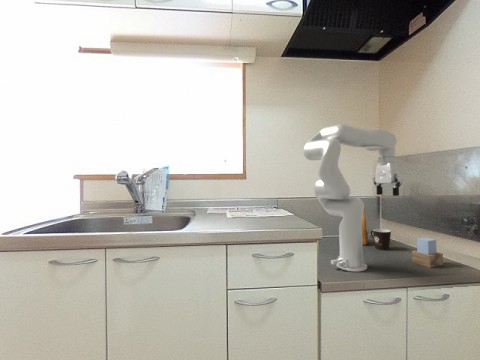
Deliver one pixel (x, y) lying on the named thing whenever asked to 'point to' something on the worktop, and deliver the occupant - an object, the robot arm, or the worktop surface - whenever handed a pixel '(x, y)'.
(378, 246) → the coffee mug
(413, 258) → the block
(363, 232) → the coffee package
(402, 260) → the worktop surface
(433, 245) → the blue block
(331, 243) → the worktop surface
